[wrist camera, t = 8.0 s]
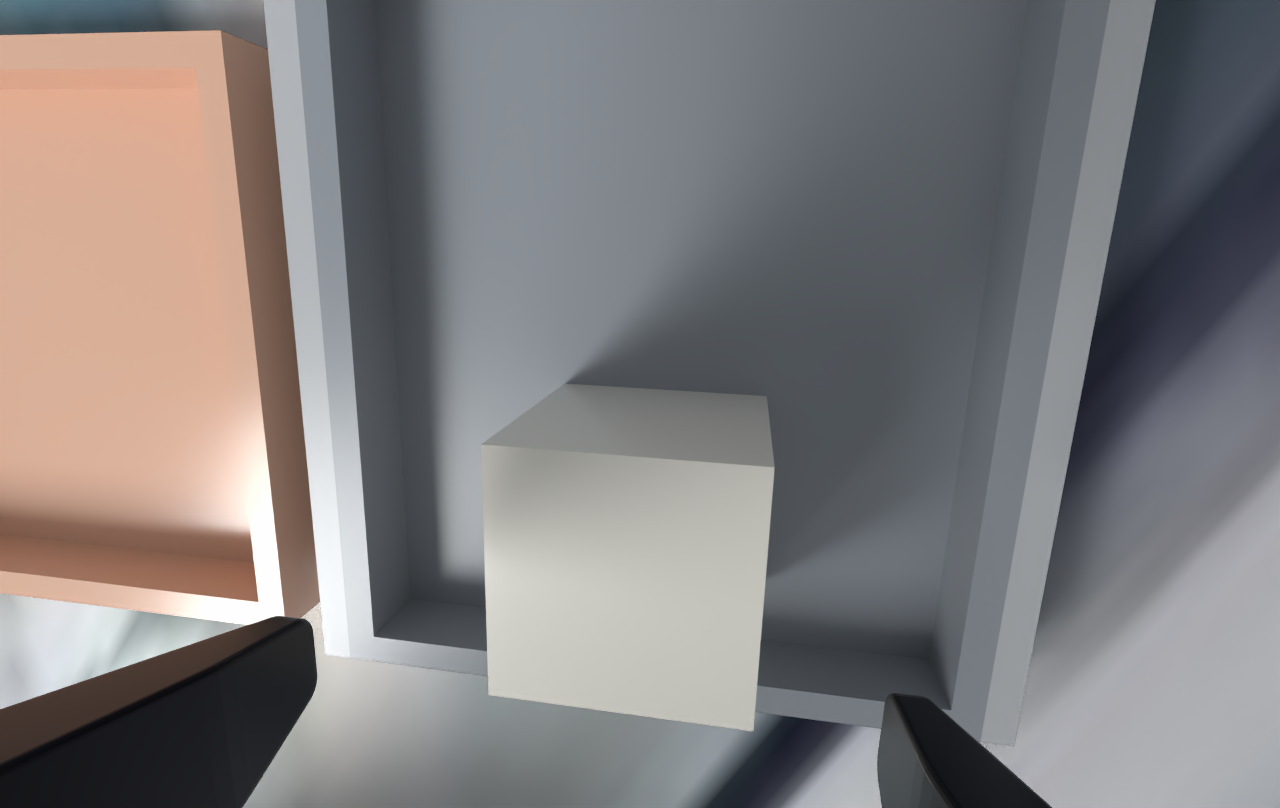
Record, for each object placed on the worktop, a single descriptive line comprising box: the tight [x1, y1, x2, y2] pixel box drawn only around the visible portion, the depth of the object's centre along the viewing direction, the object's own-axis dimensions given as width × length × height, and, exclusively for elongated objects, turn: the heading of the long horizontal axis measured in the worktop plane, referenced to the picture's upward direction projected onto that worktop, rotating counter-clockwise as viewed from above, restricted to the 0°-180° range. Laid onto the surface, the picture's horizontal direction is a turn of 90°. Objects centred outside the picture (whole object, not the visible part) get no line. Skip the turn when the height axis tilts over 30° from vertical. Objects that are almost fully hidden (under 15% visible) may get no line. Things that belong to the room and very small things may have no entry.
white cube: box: [481, 384, 775, 731], centre depth 12 cm, size 4×4×4 cm
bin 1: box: [0, 30, 320, 625], centre depth 15 cm, size 12×12×2 cm
